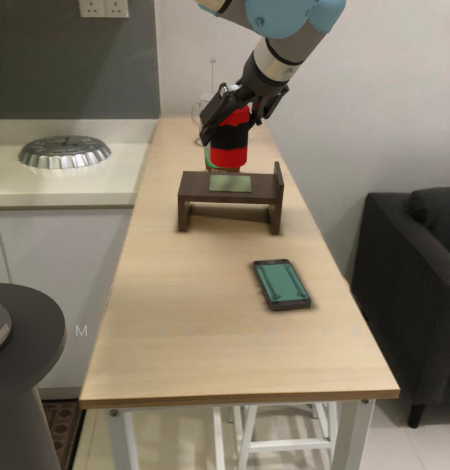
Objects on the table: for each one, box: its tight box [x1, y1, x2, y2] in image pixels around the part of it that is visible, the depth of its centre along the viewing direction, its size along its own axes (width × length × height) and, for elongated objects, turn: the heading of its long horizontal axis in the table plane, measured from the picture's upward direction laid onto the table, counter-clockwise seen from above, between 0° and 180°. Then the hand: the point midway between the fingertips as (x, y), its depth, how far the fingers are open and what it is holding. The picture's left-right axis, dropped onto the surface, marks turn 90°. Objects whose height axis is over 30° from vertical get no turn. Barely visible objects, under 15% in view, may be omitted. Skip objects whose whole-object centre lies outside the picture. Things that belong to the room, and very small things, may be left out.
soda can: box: [210, 101, 251, 168], centre depth 92 cm, size 8×8×12 cm
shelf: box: [177, 160, 285, 236], centre depth 104 cm, size 22×14×12 cm, turn 89°
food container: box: [200, 141, 241, 173], centre depth 125 cm, size 12×6×10 cm, turn 88°
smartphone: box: [252, 258, 312, 311], centre depth 85 cm, size 7×1×15 cm
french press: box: [190, 57, 217, 146], centre depth 146 cm, size 10×12×25 cm
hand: (220, 137), depth 96 cm, fingers closed on soda can, 7 cm apart
